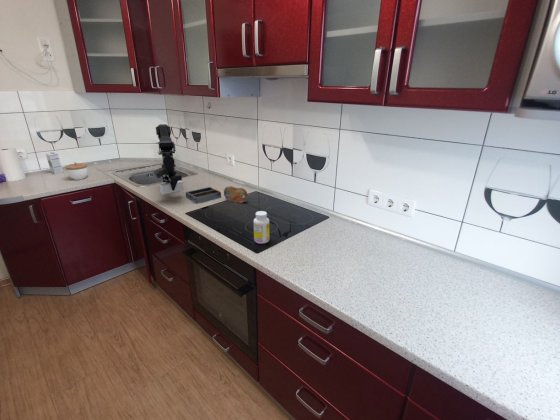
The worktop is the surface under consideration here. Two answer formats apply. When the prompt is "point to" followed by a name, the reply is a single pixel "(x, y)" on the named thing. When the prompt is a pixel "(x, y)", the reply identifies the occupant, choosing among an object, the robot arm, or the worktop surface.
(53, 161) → the syrup box
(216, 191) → the box
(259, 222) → the supplement bottle
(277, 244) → the worktop surface
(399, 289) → the worktop surface
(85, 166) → the lidded bowl
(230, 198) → the tin
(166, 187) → the panel
